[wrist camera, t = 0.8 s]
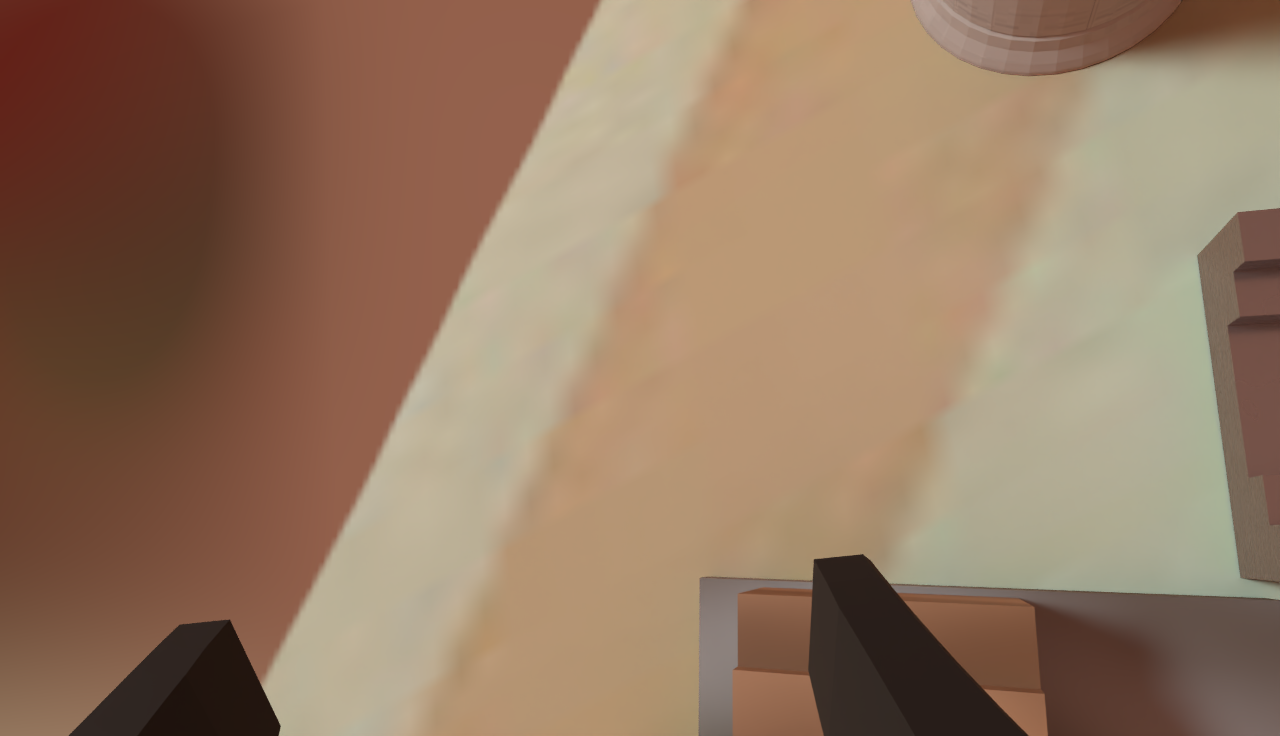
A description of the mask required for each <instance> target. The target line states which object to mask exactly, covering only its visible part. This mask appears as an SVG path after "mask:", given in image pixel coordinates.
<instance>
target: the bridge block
mask: <svg viewBox="0 0 1280 736" xmlns="http://www.w3.org/2000/svg"><path fill="white" fill-rule="evenodd" d="M890 585H891V586H892V588H893V589H894V590H895V591H896V592H897V594H898V595H899V596H900V597H901V598H902V599H903V601H904V602H905V603H906V604H907V605H908V607H909V608H910V609H911V610H912V611H913V612H914V614H915V615H916V616H917V617H918V618H919V619H920V620H921V622H922V623H923V624H924V625H925V626H926V627H927V628H928V630H929V631H930V632H931V633H932V634H933V635H934V636H935V637H936V639H937V640H938V641H939V642H940V643H941V644H942V645H943V646H944V648H945V649H946V650H947V651H948V652H949V653H950V654H951V655H952V656H953V657H954V659H955V660H956V661H957V662H958V663H959V664H960V665H961V666H962V667H963V668H964V669H965V670H966V671H967V672H968V673H969V675H970V676H971V677H972V678H973V679H974V680H975V681H976V682H977V683H978V684H979V685H980V686H981V687H982V688H983V689H984V690H985V691H986V692H987V693H988V695H989V696H990V697H991V698H992V699H993V700H994V701H995V702H996V703H997V704H998V705H999V706H1000V707H1001V708H1002V709H1003V710H1004V711H1005V712H1006V713H1007V714H1008V715H1009V716H1010V717H1011V718H1012V719H1013V720H1014V721H1015V722H1016V723H1017V724H1018V725H1019V726H1020V727H1021V728H1022V729H1023V730H1024V731H1025V732H1026V733H1027V734H1028V735H1029V736H1280V600H1274V599H1267V598H1245V597H1219V596H1193V595H1167V594H1141V593H1115V592H1089V591H1064V590H1038V589H1012V588H986V587H960V586H934V585H908V584H890ZM812 587H813V581H805V580H779V579H753V578H727V577H702V578H700V626H699V736H824V735H823V731H822V727H821V723H820V719H819V714H818V710H817V706H816V702H815V697H814V693H813V689H812V684H811V680H810V676H809V671H808V664H809V645H810V626H811V607H812Z"/></svg>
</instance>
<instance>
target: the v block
mask: <svg viewBox="0 0 1280 736" xmlns="http://www.w3.org/2000/svg"><path fill="white" fill-rule="evenodd" d="M1198 263H1199V270H1200V278H1201V285H1202V293H1203V300H1204V308H1205V315H1206V323H1207V330H1208V337H1209V345H1210V352H1211V360H1212V367H1213V375H1214V382H1215V390H1216V397H1217V405H1218V412H1219V420H1220V427H1221V434H1222V442H1223V449H1224V457H1225V464H1226V472H1227V479H1228V487H1229V494H1230V502H1231V509H1232V517H1233V524H1234V531H1235V539H1236V546H1237V554H1238V561H1239V569H1240V576H1241V578H1248V579H1258V580H1269V581H1279V582H1280V208H1278V209H1267V210H1257V211H1247V212H1237V214H1236V215H1235V216H1234V217H1233V218H1232V219H1231V220H1230V221H1229V222H1228V223H1227V224H1226V225H1225V226H1224V228H1223V229H1222V230H1221V231H1220V232H1219V233H1218V234H1217V235H1216V236H1215V237H1214V238H1213V239H1212V240H1211V242H1210V243H1209V244H1208V245H1207V246H1206V247H1205V248H1204V249H1203V250H1202V251H1201V252H1200V253H1199V254H1198Z"/></svg>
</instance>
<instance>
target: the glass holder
mask: <svg viewBox="0 0 1280 736" xmlns="http://www.w3.org/2000/svg"><path fill="white" fill-rule="evenodd" d="M1181 1H1182V0H911V2H912V5H913V8H914V10H915V13H916V16H917V18H918V19H919V21H920V22H921V24H922V25H923V27H924V29H925V30H926V32H927V33H928V34H929V35H930V36H931V37H932V38H933V39H934V40H935V41H936V42H937V43H938V44H939V45H940V46H941V47H942V48H944V49H945V50H947V51H948V52H950V53H951V54H953V55H954V56H955V57H957V58H958V59H960V60H963V61H965V62H967V63H970V64H972V65H974V66H977V67H979V68H982V69H986V70H990V71H995V72H999V73H1003V74H1013V75H1025V76H1033V75H1050V74H1058V73H1063V72H1068V71H1073V70H1078V69H1082V68H1085V67H1088V66H1091V65H1094V64H1097V63H1100V62H1102V61H1105V60H1108V59H1110V58H1112V57H1114V56H1116V55H1118V54H1120V53H1122V52H1123V51H1125V50H1127V49H1129V48H1131V47H1133V46H1134V45H1136V44H1137V43H1138V42H1140V41H1141V40H1143V39H1144V38H1145V37H1147V36H1148V35H1150V34H1151V33H1152V32H1154V31H1155V30H1156V29H1157V28H1158V27H1159V26H1160V25H1161V24H1162V23H1163V22H1164V21H1165V20H1166V19H1167V18H1168V17H1169V16H1170V15H1171V14H1172V13H1173V12H1174V11H1175V9H1176V8H1177V7H1178V5H1179V4H1180V3H1181Z"/></svg>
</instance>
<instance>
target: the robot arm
mask: <svg viewBox="0 0 1280 736" xmlns="http://www.w3.org/2000/svg"><path fill="white" fill-rule="evenodd" d="M808 671H809V676H810V680H811V684H812V689H813V693H814V697H815V702H816V706H817V710H818V714H819V719H820V723H821V727H822V731H823V735H824V736H1029V735H1028V734H1027V733H1026V732H1025V731H1024V730H1023V729H1022V728H1021V727H1020V726H1019V725H1018V724H1017V723H1016V722H1015V721H1014V720H1013V719H1012V718H1011V717H1010V716H1009V715H1008V714H1007V713H1006V712H1005V711H1004V710H1003V709H1002V708H1001V707H1000V706H999V705H998V704H997V703H996V702H995V701H994V700H993V699H992V698H991V697H990V696H989V695H988V693H987V692H986V691H985V690H984V689H983V688H982V687H981V686H980V685H979V684H978V683H977V682H976V681H975V680H974V679H973V678H972V677H971V676H970V675H969V673H968V672H967V671H966V670H965V669H964V668H963V667H962V666H961V665H960V664H959V663H958V662H957V661H956V660H955V659H954V657H953V656H952V655H951V654H950V653H949V652H948V651H947V650H946V649H945V648H944V646H943V645H942V644H941V643H940V642H939V641H938V640H937V639H936V637H935V636H934V635H933V634H932V633H931V632H930V631H929V630H928V628H927V627H926V626H925V625H924V624H923V623H922V622H921V620H920V619H919V618H918V617H917V616H916V615H915V614H914V612H913V611H912V610H911V609H910V608H909V607H908V605H907V604H906V603H905V602H904V601H903V599H902V598H901V597H900V596H899V595H898V594H897V592H896V591H895V590H894V589H893V588H892V586H891V585H890V584H889V583H888V581H887V580H886V579H885V578H884V577H883V575H882V574H881V573H880V572H879V571H878V569H877V568H876V567H875V566H874V564H873V563H872V562H871V561H870V560H869V559H868V558H867V557H865V556H864V555H863V554H862V555H852V556H842V557H833V558H823V559H814V568H813V587H812V607H811V626H810V645H809V664H808ZM280 727H281V726H280V724H279V722H278V719H277V717H276V715H275V713H274V711H273V709H272V707H271V705H270V703H269V701H268V699H267V696H266V694H265V692H264V690H263V688H262V686H261V684H260V682H259V680H258V678H257V676H256V674H255V671H254V669H253V667H252V665H251V663H250V661H249V659H248V657H247V655H246V653H245V651H244V648H243V646H242V644H241V642H240V640H239V638H238V636H237V634H236V632H235V630H234V628H233V625H232V623H231V621H230V620H221V621H212V622H202V623H192V624H182V625H179V626H178V627H177V628H176V629H175V630H174V631H173V632H172V633H171V634H169V636H167V638H165V639H164V640H163V641H162V642H161V643H160V644H159V645H158V646H157V647H156V648H155V649H154V650H153V651H152V652H151V653H150V654H149V655H148V656H147V657H146V658H145V659H144V660H143V661H142V662H141V663H140V664H139V665H138V666H137V667H136V668H135V669H134V670H133V671H132V672H131V673H130V674H129V675H128V676H127V677H126V678H125V679H124V680H123V681H122V682H121V683H120V684H119V685H118V686H117V687H116V689H114V690H113V691H112V692H111V693H110V694H109V695H108V696H107V697H106V698H105V699H104V700H103V701H102V702H101V703H100V704H99V706H98V707H97V708H96V709H95V710H94V711H93V712H92V713H91V714H90V715H89V716H88V717H87V718H86V719H85V720H84V721H83V722H82V723H81V724H80V725H79V726H78V727H77V728H76V729H75V730H74V731H73V732H72V733H71V734H70V735H69V736H279V731H280Z"/></svg>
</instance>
